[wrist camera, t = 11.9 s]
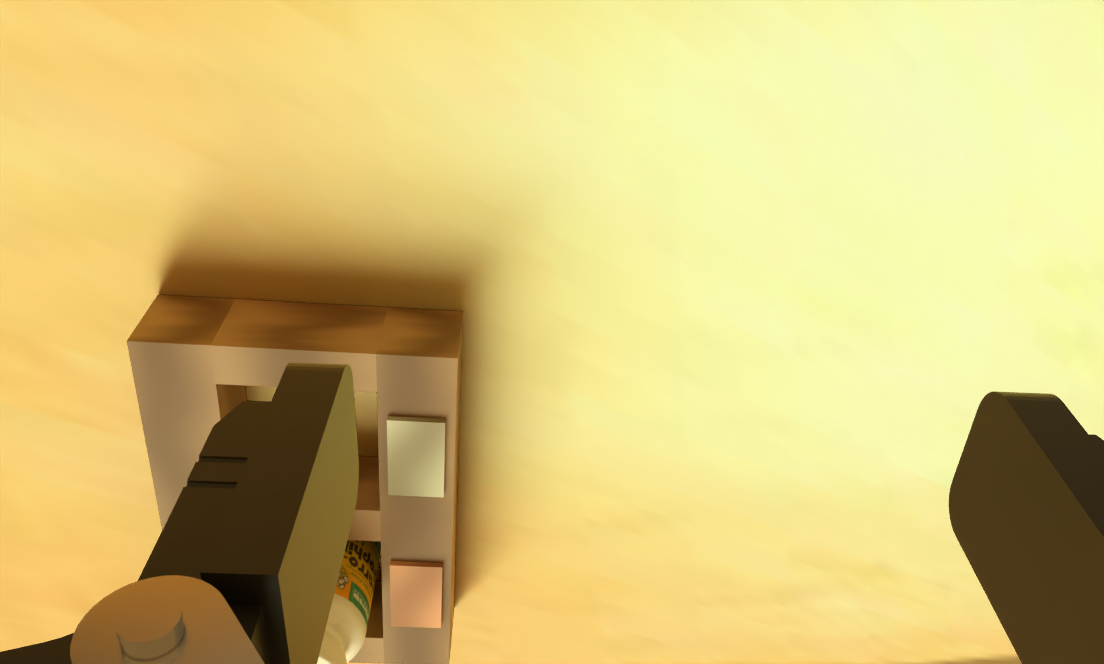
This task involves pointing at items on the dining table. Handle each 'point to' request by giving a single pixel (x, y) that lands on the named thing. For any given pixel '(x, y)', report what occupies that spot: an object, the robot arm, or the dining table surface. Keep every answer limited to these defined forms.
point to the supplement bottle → (351, 603)
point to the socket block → (384, 482)
